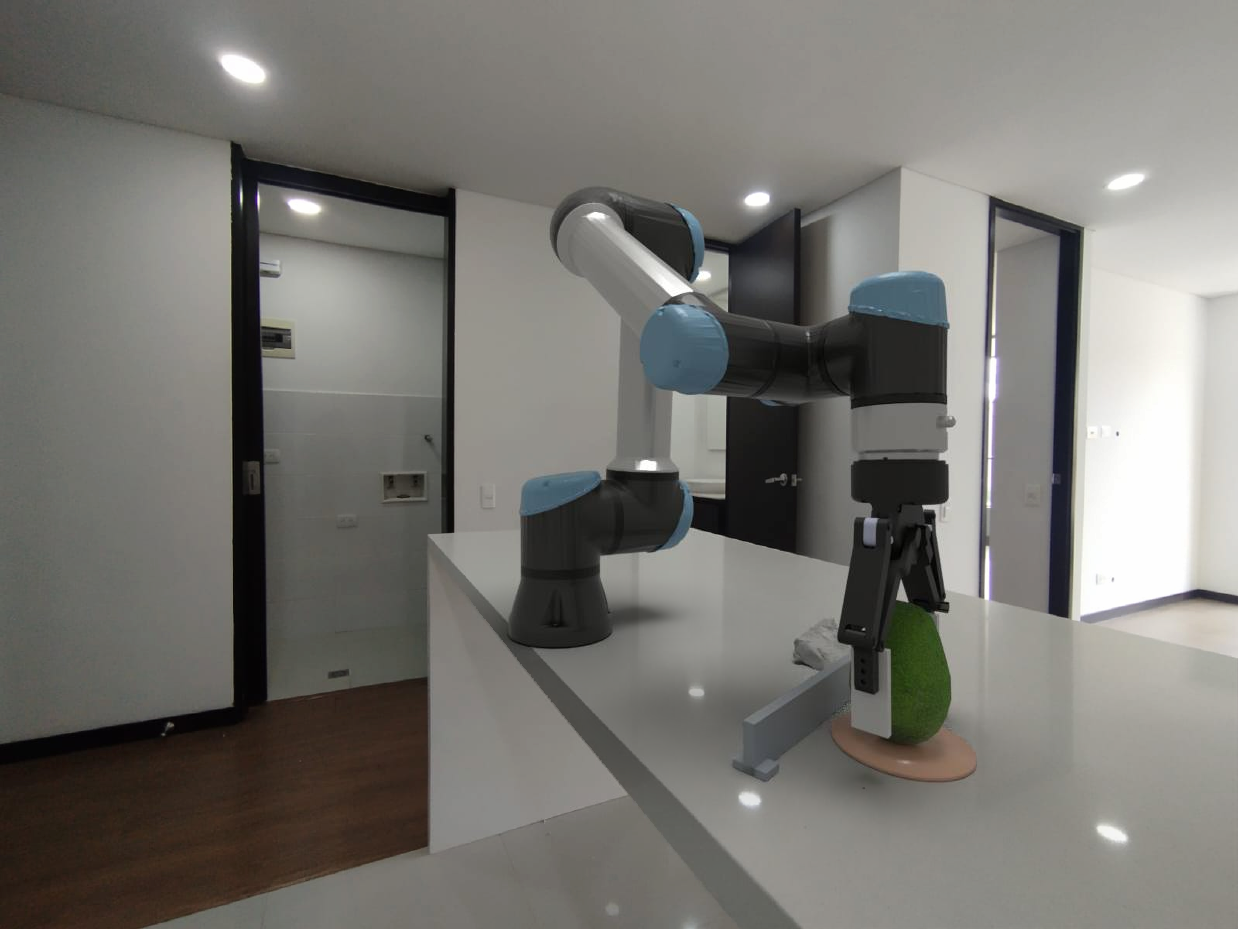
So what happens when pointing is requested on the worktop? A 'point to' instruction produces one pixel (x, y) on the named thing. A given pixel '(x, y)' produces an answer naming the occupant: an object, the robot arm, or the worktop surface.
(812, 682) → the acrylic wall
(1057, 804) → the worktop surface
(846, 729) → the saucer
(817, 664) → the stone
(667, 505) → the robot arm
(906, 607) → the fruit
